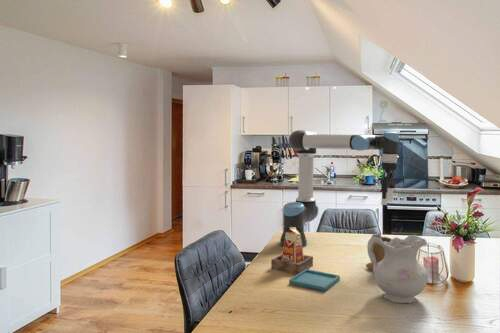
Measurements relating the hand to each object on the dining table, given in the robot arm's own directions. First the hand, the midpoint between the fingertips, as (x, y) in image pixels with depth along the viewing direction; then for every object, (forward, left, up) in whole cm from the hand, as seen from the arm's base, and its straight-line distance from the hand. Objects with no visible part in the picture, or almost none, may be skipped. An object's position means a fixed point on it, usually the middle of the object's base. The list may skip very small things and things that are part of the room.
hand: (387, 202), depth 212 cm
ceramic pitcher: (+19, -57, -27) cm, 66 cm away
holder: (-31, -47, -27) cm, 62 cm away
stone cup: (+6, -27, -27) cm, 39 cm away
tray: (-14, -59, -27) cm, 66 cm away
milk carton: (-31, -47, -27) cm, 62 cm away
